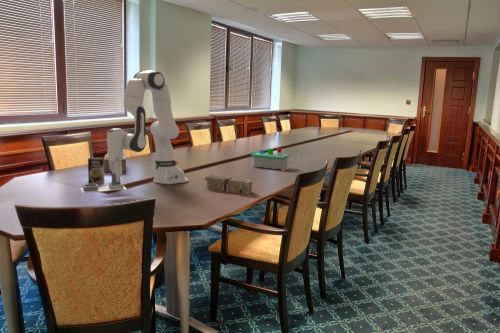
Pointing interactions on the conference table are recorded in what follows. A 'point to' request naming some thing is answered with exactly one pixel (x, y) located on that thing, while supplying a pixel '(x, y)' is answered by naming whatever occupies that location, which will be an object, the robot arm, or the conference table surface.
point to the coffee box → (96, 170)
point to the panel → (101, 187)
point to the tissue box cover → (107, 168)
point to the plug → (114, 180)
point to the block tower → (229, 184)
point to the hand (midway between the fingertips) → (116, 180)
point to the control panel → (270, 159)
